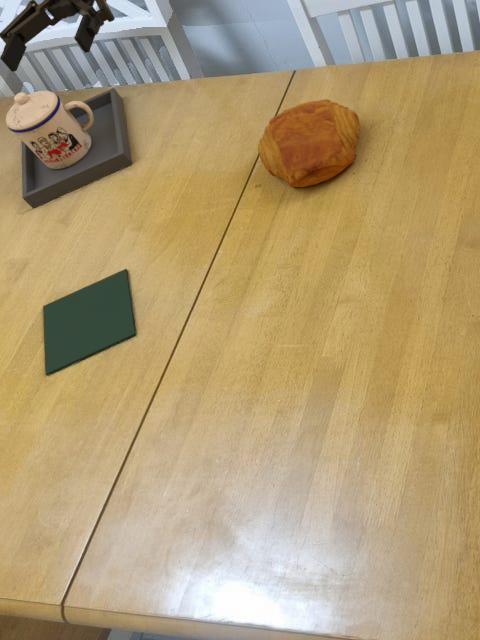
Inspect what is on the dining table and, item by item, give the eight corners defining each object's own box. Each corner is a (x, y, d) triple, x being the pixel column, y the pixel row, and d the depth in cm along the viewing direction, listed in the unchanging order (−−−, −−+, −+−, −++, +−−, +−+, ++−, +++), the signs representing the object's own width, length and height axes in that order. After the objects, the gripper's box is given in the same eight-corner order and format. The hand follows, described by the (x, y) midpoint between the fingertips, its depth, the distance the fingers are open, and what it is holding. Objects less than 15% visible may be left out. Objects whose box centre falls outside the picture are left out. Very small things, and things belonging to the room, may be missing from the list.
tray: (32, 208, 119) (22, 198, 117) (30, 139, 130) (21, 128, 128) (132, 164, 119) (123, 152, 117) (122, 98, 130) (113, 87, 128)
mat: (47, 375, 98) (45, 374, 98) (44, 307, 106) (42, 306, 105) (136, 335, 99) (134, 333, 98) (127, 270, 106) (126, 268, 106)
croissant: (275, 151, 116) (245, 112, 110) (362, 110, 113) (336, 68, 107) (277, 212, 108) (244, 175, 102) (371, 170, 105) (343, 129, 99)
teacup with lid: (46, 179, 121) (-8, 124, 112) (42, 148, 126) (-9, 92, 117) (112, 148, 122) (65, 90, 112) (106, 118, 127) (60, 60, 117)
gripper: (150, -16, 133) (127, 57, 121) (29, 18, 136) (-5, 91, 125) (124, -56, 127) (97, 15, 115) (-2, -21, 130) (-40, 52, 119)
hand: (44, 55), depth 120 cm, fingers open, 13 cm apart
